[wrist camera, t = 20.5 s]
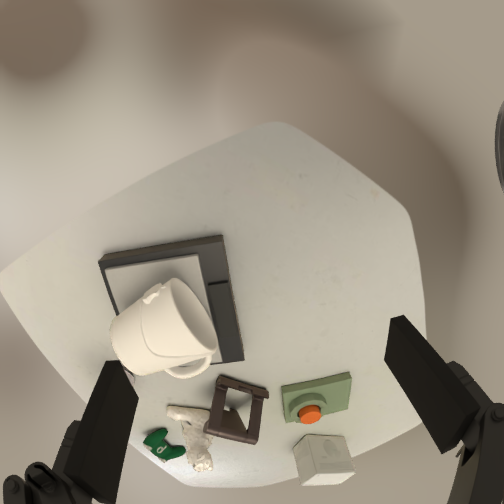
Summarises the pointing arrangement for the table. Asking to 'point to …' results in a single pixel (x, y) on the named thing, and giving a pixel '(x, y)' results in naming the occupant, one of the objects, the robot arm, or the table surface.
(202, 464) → the white creature statuette
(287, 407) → the green button base
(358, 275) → the table surface
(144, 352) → the mug
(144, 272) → the scale
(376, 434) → the table surface
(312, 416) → the button
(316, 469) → the cosmetics box
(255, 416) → the tablet stand
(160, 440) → the gaming controller
